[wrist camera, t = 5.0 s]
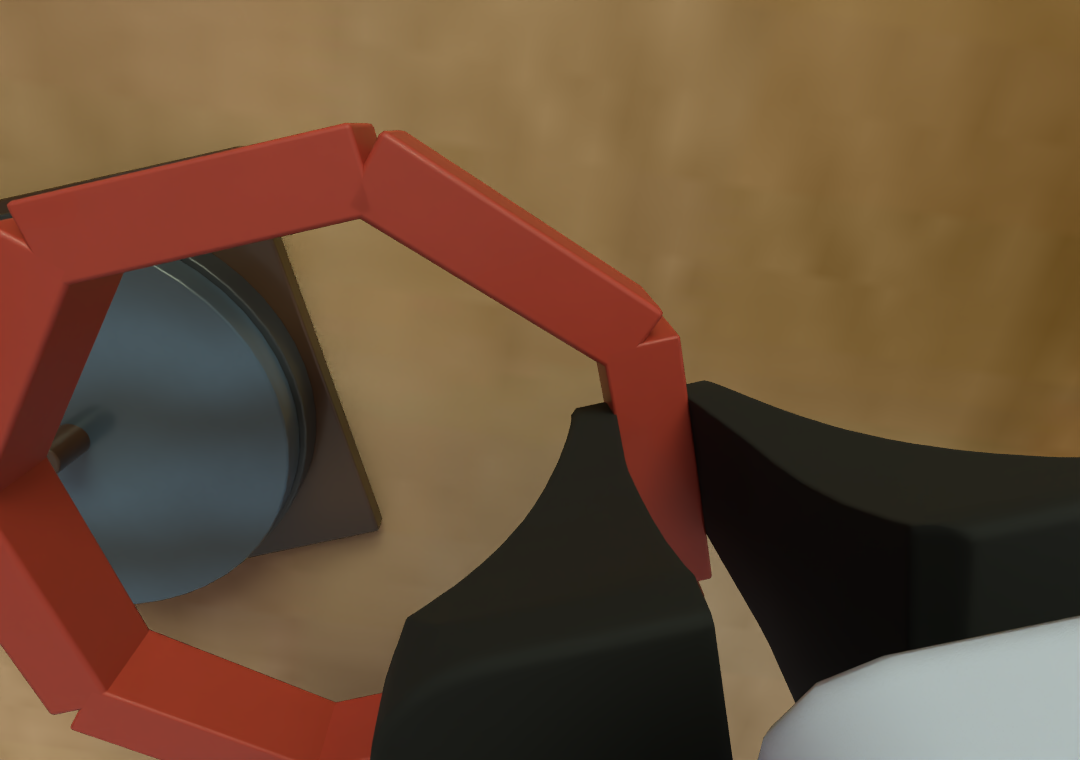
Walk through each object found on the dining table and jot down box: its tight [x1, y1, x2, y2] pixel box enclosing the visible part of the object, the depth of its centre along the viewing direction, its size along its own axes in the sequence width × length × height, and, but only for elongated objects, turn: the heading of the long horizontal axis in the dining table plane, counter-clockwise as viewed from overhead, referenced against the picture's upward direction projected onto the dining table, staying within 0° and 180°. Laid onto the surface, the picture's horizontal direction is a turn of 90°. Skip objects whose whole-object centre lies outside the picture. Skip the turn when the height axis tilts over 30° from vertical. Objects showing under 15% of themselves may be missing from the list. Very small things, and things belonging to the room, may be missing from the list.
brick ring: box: [0, 123, 712, 760], centre depth 11 cm, size 12×12×2 cm
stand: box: [0, 146, 382, 604], centre depth 19 cm, size 14×14×5 cm
